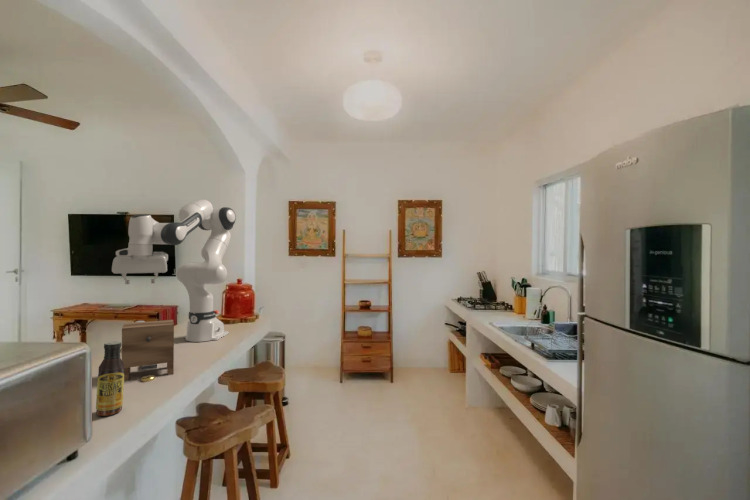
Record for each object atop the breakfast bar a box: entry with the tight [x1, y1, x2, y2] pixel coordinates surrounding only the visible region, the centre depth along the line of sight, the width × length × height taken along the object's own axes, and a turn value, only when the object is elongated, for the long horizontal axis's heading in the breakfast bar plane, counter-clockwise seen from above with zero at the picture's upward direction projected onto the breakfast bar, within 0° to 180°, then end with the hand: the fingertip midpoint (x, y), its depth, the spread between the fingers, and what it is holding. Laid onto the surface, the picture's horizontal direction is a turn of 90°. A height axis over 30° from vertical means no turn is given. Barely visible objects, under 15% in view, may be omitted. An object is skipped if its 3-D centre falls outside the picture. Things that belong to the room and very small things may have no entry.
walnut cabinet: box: [121, 319, 175, 382], centre depth 138 cm, size 11×16×18 cm
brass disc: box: [140, 374, 155, 383], centre depth 132 cm, size 4×4×1 cm
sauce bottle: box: [95, 340, 125, 417], centre depth 106 cm, size 6×6×20 cm
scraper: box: [141, 364, 158, 371], centre depth 151 cm, size 18×5×4 cm, turn 30°
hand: (140, 283), depth 160 cm, fingers open, 8 cm apart
